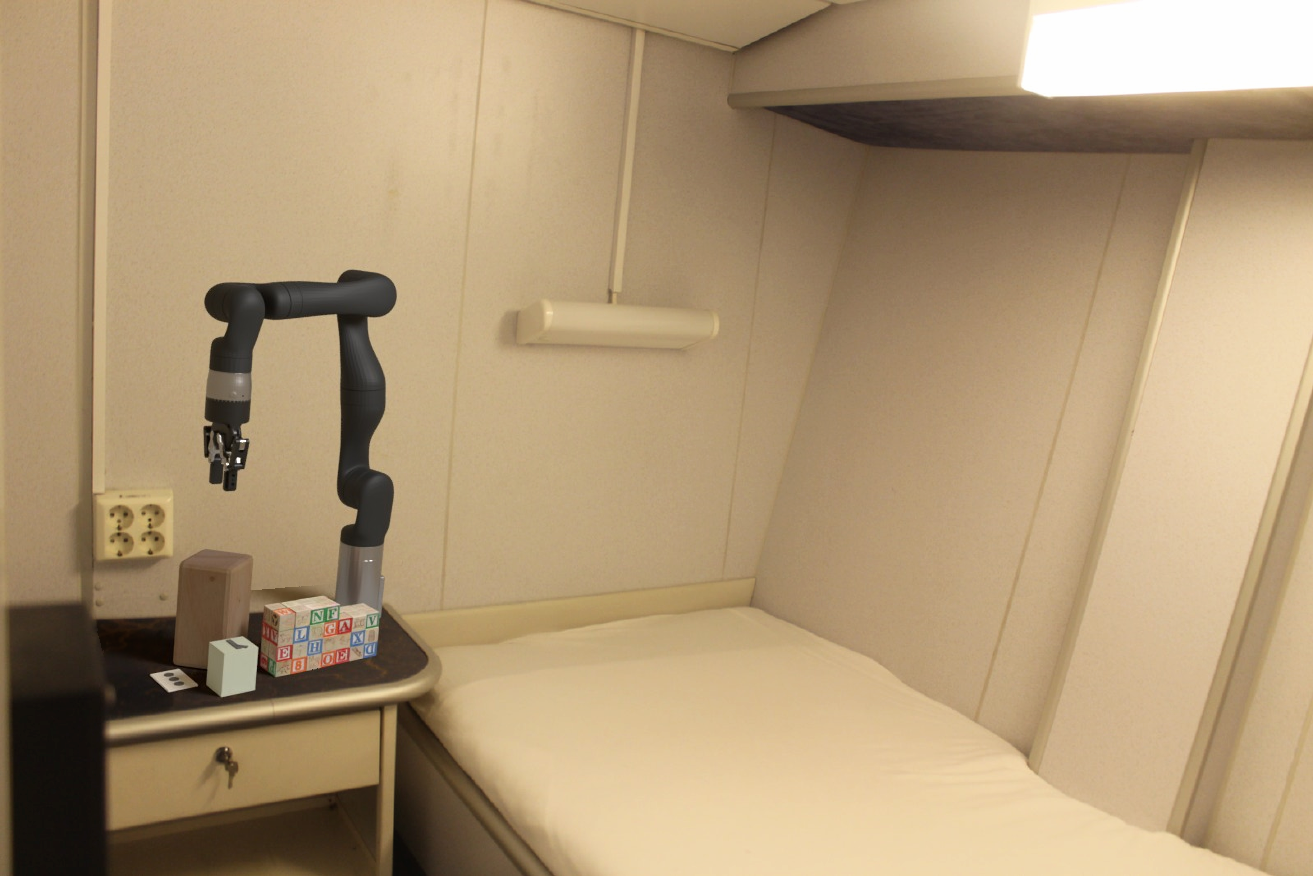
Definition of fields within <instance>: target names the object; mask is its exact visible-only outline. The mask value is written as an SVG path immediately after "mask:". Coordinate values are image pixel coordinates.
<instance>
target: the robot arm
mask: <svg viewBox="0 0 1313 876" xmlns="http://www.w3.org/2000/svg"><path fill="white" fill-rule="evenodd" d="M397 291H398V290H397V288H396V285H395V283H394V281H393V280H392V279H391V278H389V277H388V276H386V275H385V274H383V273H381V272H380V273H379V272H374V271H369V270H367V271H366V270H359V269H347V270H345V271H343V272H342V273H341V274H340V275H339V277H338V278H337V281H336V282H327V281H325V282H323V281H311V280H310V281H309V280H307V281H304V280H288V281H285V280H284V281H273V282H262V283H259V282H241V281H240V282H239V281H238V282H232V281H229V282H220V283H217V284H215V285H213V286H211V287H210V288H209V289H208V290H207V292H206V293H205V296H204V300H203V301H204V302H203V303H204V308H205V311H206V313H208V315H209V316H210V317H211V318H213V319H215V320H216V321H219V322H221V323H227V326H226V329H225V333H224V335H222V336H216V337H215V338H214V339H212V341H211V344H210V349H209V351H210V352H209V353H210V354H209V362H208V363H209V365H208V374H207V379H206V387H205V388H206V389H205V401H204V402H205V403H204V404H205V405H204V416H203V417H204V419H205V420H206V421H207V422H208V423H209V422H210V423H211V425H203V431H202V433H203V455H204V456H203V457H204V458H205V459H207V461H208V464H209V477H208V483H209V484H210V485H221V484H222V490H223V491H224V492H235V491H236V490H237V487H238V485H237V484H238V472H239V471H240V470H245V468H246V464H247V457H248V453H249V448H250V439H249V438H243V436H242V428H241V427H242V425H243V424H248V423H249V422H250V421H251V420H250V419H251V418H250V417H251V407H252V406H251V403H252V391H253V390H252V389H253V380H252V369H253V357H254V356H253V355H254V354H253V353H254V352H253V351H254V347H255V346H256V343H257V341H258V339H259V334H260V332H261V330H262V326H263V324H264V320H270V321H282V320H283V321H284V320H291V319H293V320H294V319H302V318H311V317H312V318H313V317H319V316H331V315H332V316H334V315H336V320H337V329H338V330H337V331H338V339H339V340H338V341H339V364H340V365H339V367H340V373H339V375H340V380H339V381H340V382H339V397H340V398H339V402H340V403H339V404H340V443H339V444H340V446H339V456H338V466H337V467H338V468H337V476H336V492H337V496H338V500H339V501H340V503H342V504H343V505H344V506H346V507H349V508H351V509H354V510H357V511H356V515H355V516H356V517H355V521H354V523H350V524H346V525H344V526H343V527H342V528H341V530H340V536H339V537H340V538H339V546H338V547H339V549H338V557H337V558H338V560H337V572H336V580H335V582H336V583H335V591H334V592H335V595H334V602H336V603H338V604H340V607H343V606H349V605H350V606H351V605H356V604H361V603H364V604H365V605H367V606H369V607H371V608H373V609H375V610H377V611H378V612H380V616H379V619H381V618H382V610H383V609H382V608H383V599H384V589H385V588H384V587H385V579H386V578H385V576H384V575H383V574H382V568H383V559H384V558H383V557H384V547H385V546H384V545H385V537H386V535H387V533H388V531H389V529H390V525H391V519H392V518H391V517H392V511H393V506H394V498H395V497H394V496H395V485H394V482H393V480H392V478H391V477H390V476H389V474H387V473H384V472H382V471H379V470H375V469H373V468H371V467H370V446H371V440H372V437H373V436H374V434H375V432H376V430H377V429H378V426H379V425H380V423H381V421H382V419H383V417H384V415H385V412H386V405H387V404H386V403H387V402H386V400H387V399H386V397H387V396H386V394H387V393H386V389H387V387H386V386H387V383H386V376H385V373H384V370H383V367H382V366H381V363H380V360H379V358H378V356H377V355H376V352H375V350H374V348H373V346H372V343H371V340H370V335H369V322H368V320H369V319H368V318H375V319H376V318H381V317H384V316H386V315H388V314H389V313H391V311H392V310H393V309H394V308H395V305H396V302H397V300H398V298H397V297H398V292H397Z"/></svg>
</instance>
